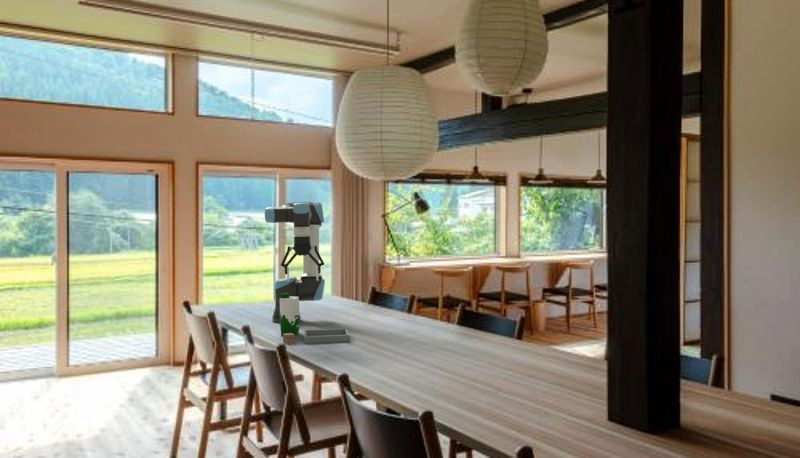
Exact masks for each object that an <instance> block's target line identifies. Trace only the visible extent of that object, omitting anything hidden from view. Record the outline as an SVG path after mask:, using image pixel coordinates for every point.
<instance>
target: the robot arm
mask: <svg viewBox="0 0 800 458" xmlns="http://www.w3.org/2000/svg"><path fill="white" fill-rule="evenodd" d="M264 220H265V222H266V223H267V224H268V223H270V224H275V223H278V224H279V223H281V224H283V223H284V224H285V223H291V224H293V235H294V237H293V246H290V245H288V246H287V247H286V248H287V250H286V252H285V254H284V257H283V259H282V260H281V262H280V266H281V267H283V268H284V275H286V277H284V278H283V277H282V278H279V279H276V281H275V283H274V299H275V300H274V301H275V303H274V305H275V306H274V311H273V314H272V317H271V318H272V321H271V322H273V323H276V324H280V298H281V293H289V296H294V297H299V302H315V301H317V302H318V301H321V300H323V298H324V294H325V293H324V292H325V282H326V280H325V279H324V278H323V275H322V274H321V270H322V269H321V268H322V266H324V265H325V262H324V260H323V258H322V256H321V255H320V229H321V228H322V224H323V223H324V222H325V216H324V209H323V205H322V203H321V202H320V201H292V202H291V201H290V202H288V203H282V204H280V205H279V206H276V207H275V206H270V207H266V208H265V209H264ZM292 250H293V251H294V253H293V255H292V256H290V258H289V260H288V261H287V262H286V260H287V258H288V257H289V255H290V252H292ZM297 256H299V257H300V256H302V258H303V260H302V261H303V262H302V263H303V264H302V265H303V266H302V267H303V268H302V269H303V273H302V274H301V275H300V279H298V278H297V276H290V267H289V266H290V264H291V263H292V262H293V261H294V259H295V258H296V257H297ZM299 317H300V321H301V319H302V318H301V314H300V312H299Z"/></svg>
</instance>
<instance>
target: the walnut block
mask: <svg viewBox="0 0 800 458" xmlns="http://www.w3.org/2000/svg"><path fill="white" fill-rule="evenodd" d="M282 337H283V338H282V339H283V343H284V344H286V345H288V344H290V343H291V344H296V343H295V340H296V339H295V337H296V336H295V334H293V333H286V334H283V336H282Z"/></svg>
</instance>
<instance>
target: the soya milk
mask: <svg viewBox="0 0 800 458" xmlns="http://www.w3.org/2000/svg"><path fill="white" fill-rule="evenodd" d="M299 313H300V301H299V297H294V296H289V293H281V298H280V323H279V324H280V325H279V327H280V336H281V337H283V334H286V333H293V334H295V337H297V335H299V332H300V324H301V323H300V321H301V320H300V317H301V316H300V317H299Z"/></svg>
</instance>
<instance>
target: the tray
mask: <svg viewBox="0 0 800 458" xmlns="http://www.w3.org/2000/svg"><path fill="white" fill-rule="evenodd" d="M303 337H304V344H306V345H308V344H311V345H312V344H329V343H330V344H331V343H332V344H333V343H349V342H350V334H349V331H348V328H328V329H327V328H325V329H324V328H323V329H304V336H303Z"/></svg>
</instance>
